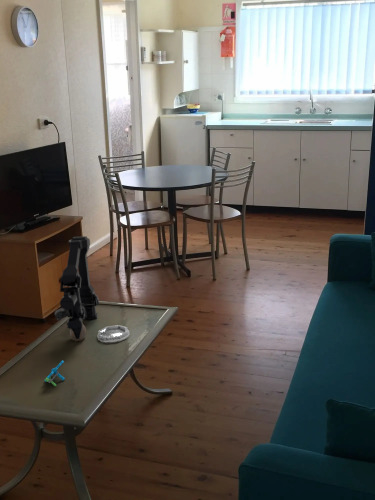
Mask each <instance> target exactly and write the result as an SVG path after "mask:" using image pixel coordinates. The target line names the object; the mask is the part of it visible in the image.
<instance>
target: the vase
mask: <svg viewBox="0 0 375 500" xmlns="http://www.w3.org/2000/svg"><path fill="white" fill-rule="evenodd" d="M86 335H87V329H86V326H85V325H84V324H83V325H82V329H81V333H80V337H79V339H76V337H75V335H74V332H73V330H72V329H69V336H70V338H71V339H72V340H73V341H75V342H80V341H83V340H84V339H85V337H86Z"/></svg>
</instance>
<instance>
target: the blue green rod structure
mask: <svg viewBox="0 0 375 500" xmlns="http://www.w3.org/2000/svg"><path fill="white" fill-rule="evenodd" d="M64 363H65V361H64V360H61V361H60V362H59V364H58V365H56V367H54V368H53V367H52V369H51V372H50V373H49V374H48V376H46V378H44V380H43V381H44V382H45V383H47V382H48V383H49V384H50V383H51V384H52V385H53V386H54V387H57V384H56V383H55V382H54V381H53V380H54V379H55V378H56V376H57V377H58V378H60V380H61V381H64V380H65V377H64V376H63V375H61V373H60V372H59V370H58V369H59V368H60V367H61V366H63V365H62V364H64ZM53 375H54V376H53ZM51 376H53V377H51Z"/></svg>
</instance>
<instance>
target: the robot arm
mask: <svg viewBox="0 0 375 500" xmlns="http://www.w3.org/2000/svg"><path fill="white" fill-rule="evenodd" d="M68 246H69V247H68V248H69V251H68V257H67V262H66V263H67V264H66V267H65V268H64V269H63V270H62V274H61V276H60V284H59V285H60V287H59V288H60V289H59V292H60V293H63V296H62V298H61V299H60V301H59V305H60V308H59V309H56V310H55V311H54V316H55V319H56V320H57V321H61V320H62V319H64V318H66V317H67V318H68V319H67V322H66V328H67V329H69V330H70V329H72V330H73V332H74V335H75V337H76V339H79V337H80V333H81V329H82V325H84V324H83V321H86V320H95V319H98V312H97V310H96V307H97V306H99V305H100V301H99V300H100V299H99V297H98V295H97V294H96V293H95V289H94V286H92V285H91V281H90V279H91V277H90V271H89V263H88V252H89V251H90V246H91V240H90V238H89V237H88V236H87V235H86V236H73V237H72V239H69V240H68Z"/></svg>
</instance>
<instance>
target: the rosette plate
mask: <svg viewBox="0 0 375 500" xmlns="http://www.w3.org/2000/svg"><path fill="white" fill-rule="evenodd" d="M130 334H131V333H130V330H129V329H128V326H124V325H120V324H119V325H118V324H117V325H116V324H115V325H108V326H105V327H103V328H101V329H99V330H98V333H97V334H96V335H97V336H96V337H97V341H98V342H100V343H104V344H114V343H119V342H122V341H125V340H126V339H128V338H129V337H130Z"/></svg>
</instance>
